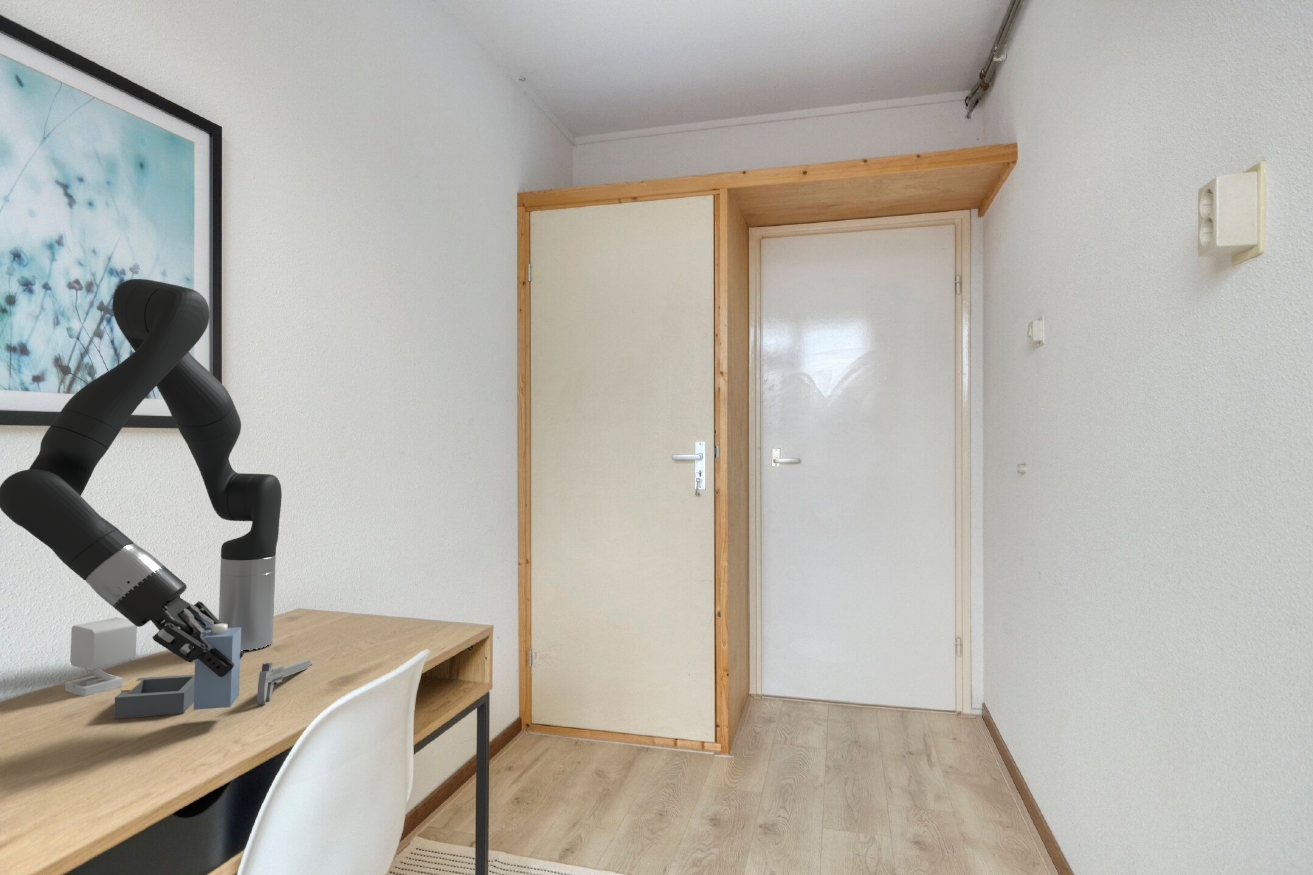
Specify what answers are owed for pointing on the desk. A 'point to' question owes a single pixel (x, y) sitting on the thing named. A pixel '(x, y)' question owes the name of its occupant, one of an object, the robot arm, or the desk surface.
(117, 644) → the security camera
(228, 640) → the blue gray block
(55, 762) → the desk surface
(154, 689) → the pocket plate
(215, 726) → the desk surface
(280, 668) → the caliper
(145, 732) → the desk surface
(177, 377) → the robot arm
